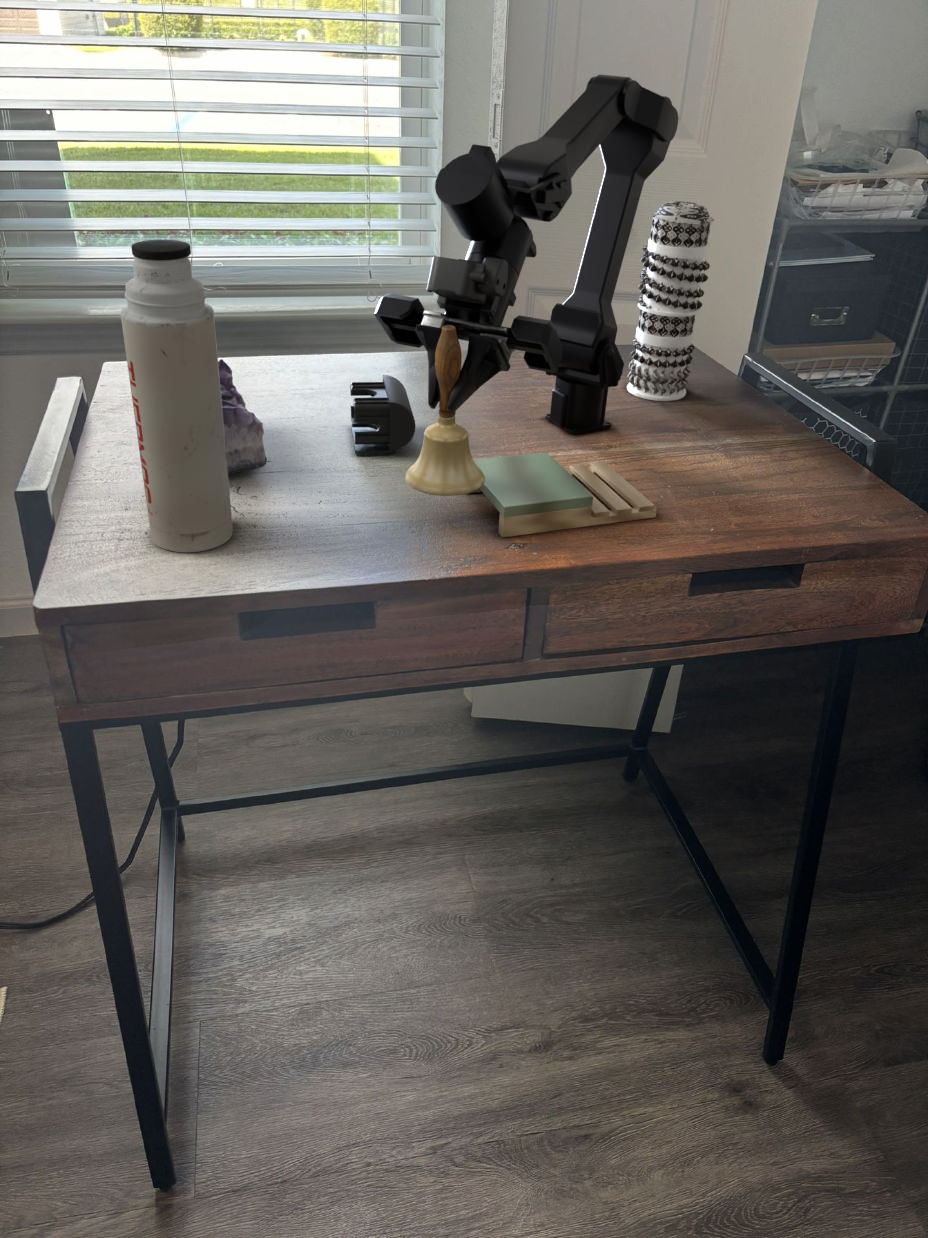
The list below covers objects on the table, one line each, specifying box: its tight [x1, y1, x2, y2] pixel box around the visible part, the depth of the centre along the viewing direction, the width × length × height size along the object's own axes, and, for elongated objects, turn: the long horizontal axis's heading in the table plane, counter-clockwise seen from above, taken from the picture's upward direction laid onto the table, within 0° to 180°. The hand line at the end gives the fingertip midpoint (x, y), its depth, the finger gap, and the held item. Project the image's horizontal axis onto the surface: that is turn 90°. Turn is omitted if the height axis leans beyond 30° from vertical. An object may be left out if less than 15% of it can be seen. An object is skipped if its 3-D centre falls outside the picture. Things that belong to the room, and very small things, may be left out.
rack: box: [466, 451, 658, 538], centre depth 109 cm, size 18×12×4 cm, turn 110°
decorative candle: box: [626, 201, 715, 402], centre depth 136 cm, size 9×9×25 cm
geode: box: [218, 358, 268, 475], centre depth 115 cm, size 20×12×10 cm, turn 19°
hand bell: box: [404, 325, 485, 497], centre depth 100 cm, size 8×8×16 cm
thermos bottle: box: [120, 238, 234, 553], centre depth 93 cm, size 8×8×28 cm
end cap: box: [349, 374, 417, 457], centre depth 121 cm, size 10×7×7 cm
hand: (440, 408), depth 98 cm, fingers closed on hand bell
